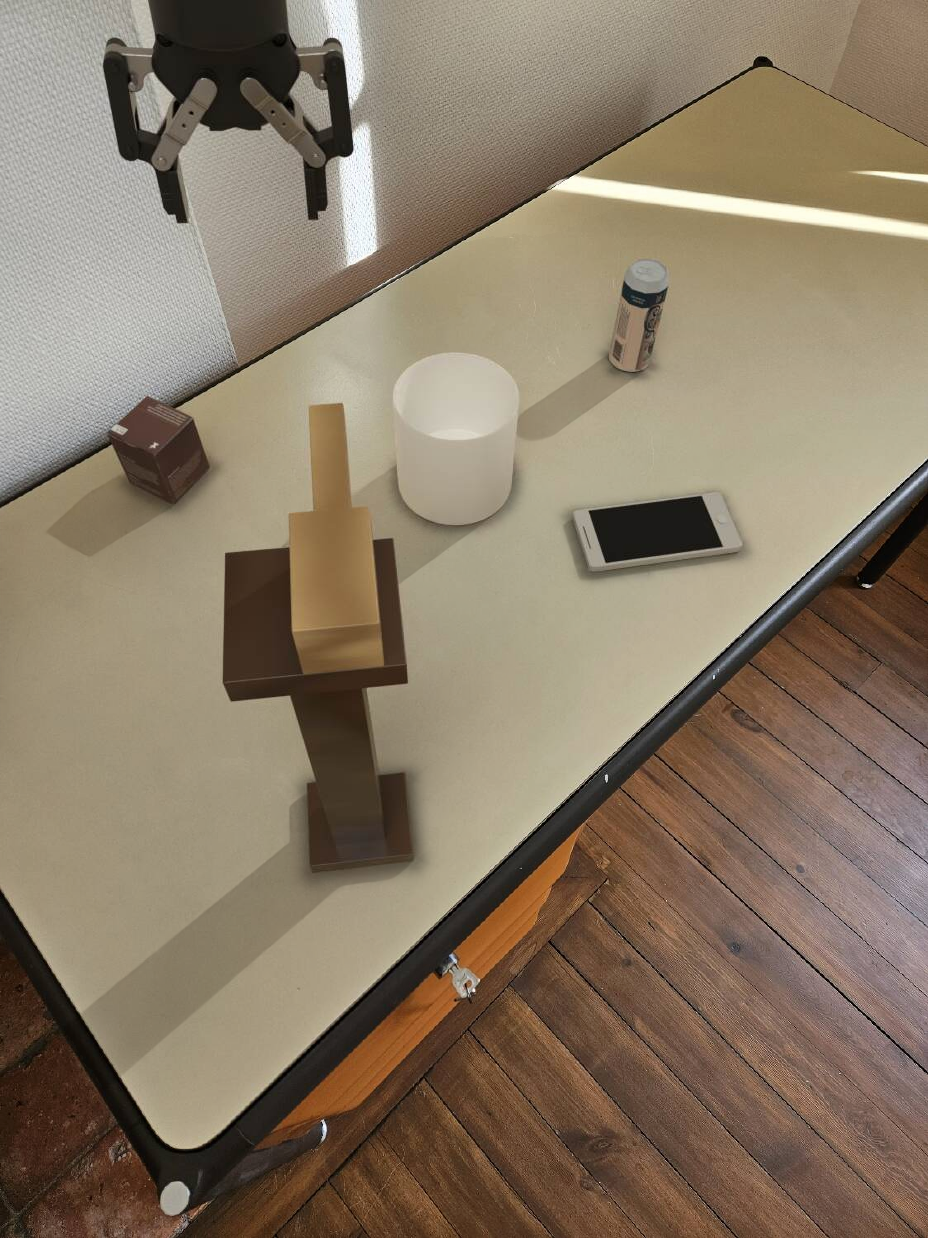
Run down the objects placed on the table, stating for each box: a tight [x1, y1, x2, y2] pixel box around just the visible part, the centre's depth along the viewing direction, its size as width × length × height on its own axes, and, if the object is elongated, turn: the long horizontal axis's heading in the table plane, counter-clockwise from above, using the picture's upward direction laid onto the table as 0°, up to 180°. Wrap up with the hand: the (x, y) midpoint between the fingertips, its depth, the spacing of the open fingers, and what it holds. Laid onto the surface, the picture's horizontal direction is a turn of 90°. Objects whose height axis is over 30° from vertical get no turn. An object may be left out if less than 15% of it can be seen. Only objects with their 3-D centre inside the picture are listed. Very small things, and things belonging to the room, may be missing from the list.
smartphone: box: [572, 491, 744, 572], centre depth 90 cm, size 7×16×1 cm, turn 100°
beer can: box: [608, 257, 671, 373], centre depth 99 cm, size 5×5×12 cm
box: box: [106, 395, 211, 505], centre depth 90 cm, size 6×6×7 cm
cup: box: [391, 352, 520, 526], centre depth 88 cm, size 12×12×12 cm
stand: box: [222, 537, 415, 874], centre depth 60 cm, size 9×8×32 cm
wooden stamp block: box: [288, 402, 384, 674], centre depth 47 cm, size 4×17×4 cm, turn 7°
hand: (249, 215), depth 61 cm, fingers open, 8 cm apart
